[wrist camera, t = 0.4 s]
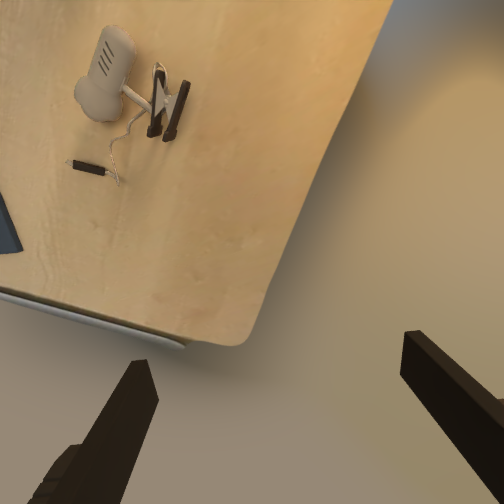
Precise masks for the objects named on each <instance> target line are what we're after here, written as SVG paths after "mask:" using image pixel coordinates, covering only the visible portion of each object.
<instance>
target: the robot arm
mask: <svg viewBox="0 0 504 504" xmlns="http://www.w3.org/2000/svg"><path fill="white" fill-rule="evenodd" d="M400 375H401V377H402V378H403V379H404V381H405V382H406V383H407V384H408V385H409V387H410V388H411V390H412V391H413V392H414V394H415V395H416V396H417V397H418V399H419V400H420V401H421V402H422V404H423V405H424V406H425V408H426V409H427V410H428V412H429V413H430V414H431V416H432V417H433V418H434V419H435V421H436V422H437V423H438V425H439V426H440V427H441V428H442V430H443V431H444V432H445V434H446V435H447V436H448V437H449V439H450V440H451V441H452V443H453V444H454V445H455V447H456V448H457V449H458V450H459V452H460V453H461V454H462V456H463V457H464V458H465V459H466V461H467V462H468V463H469V465H470V466H471V467H472V469H473V470H474V471H475V472H476V474H477V475H478V476H479V477H480V479H481V480H482V481H483V483H484V484H485V485H486V487H487V488H488V489H489V490H490V492H491V493H492V494H493V496H494V497H495V498H496V499H497V501H498V502H499V503H500V504H504V399H496V398H495V397H494V396H493V395H492V394H491V393H490V392H488V391H487V390H486V389H485V388H484V387H483V386H482V385H481V384H480V383H478V382H477V381H476V380H475V379H474V378H473V377H471V375H470V374H468V373H467V372H466V371H465V370H464V369H463V368H462V367H461V366H459V365H458V364H457V363H456V362H455V361H454V360H453V359H451V358H450V357H449V356H448V355H447V354H446V353H445V352H444V351H443V350H441V349H440V348H439V347H438V346H437V345H436V344H435V343H434V342H432V341H431V340H430V339H429V338H428V337H427V336H426V335H424V333H422V332H421V331H420V330H417V331H407V332H405V333H404V342H403V352H402V360H401V369H400ZM158 401H159V399H158V395H157V392H156V389H155V385H154V382H153V379H152V376H151V372H150V368H149V365H148V362H147V360H146V359H145V360H136V361H131V363H130V365H129V366H128V368H127V370H126V372H125V373H124V375H123V377H122V378H121V380H120V382H119V383H118V385H117V386H116V388H115V390H114V391H113V393H112V395H111V397H110V398H109V400H108V401H107V403H106V405H105V406H104V408H103V410H102V411H101V413H100V415H99V416H98V418H97V420H96V421H95V423H94V425H93V426H92V428H91V430H90V431H89V433H88V435H87V437H86V438H85V440H84V441H83V443H82V444H77V445H70V446H69V447H68V448H67V449H66V450H65V451H64V453H63V454H62V455H61V456H60V457H59V458H58V459H57V460H56V461H55V462H54V464H53V465H52V467H51V468H50V470H49V471H48V473H47V474H46V476H45V477H44V479H43V482H42V483H40V485H39V486H38V488H37V490H36V491H35V492H34V494H33V497H32V499H30V500H29V502H28V503H27V504H120V502H121V499H122V497H123V494H124V492H125V489H126V486H127V484H128V481H129V478H130V476H131V473H132V470H133V468H134V465H135V462H136V460H137V457H138V454H139V452H140V449H141V447H142V444H143V441H144V439H145V436H146V433H147V431H148V428H149V425H150V423H151V420H152V417H153V415H154V412H155V409H156V407H157V404H158Z"/></svg>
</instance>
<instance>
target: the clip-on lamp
mask: <svg viewBox="0 0 504 504" xmlns="http://www.w3.org/2000/svg"><path fill="white" fill-rule="evenodd" d="M136 55H137V54H136V47H135V44H134V41H133V39H132V38H131V36H130V35H129V34H128V33H127V32H126V31H125V30H124V29H122V28H121V27H119V26H116V25H108V26H106V27H104V28H103V29H102V32H101V35H100V38H99V41H98V44H97V47H96V50H95V53H94V56H93V59H92V62H91V65H90V68H89V71H88V74H87V75H86V76H83V77H81V78H80V79H79V80H78V81H77V83H76V85H75V89H74V96H75V99H76V101H77V102H78V103H79V104H80V105H81V107H82V109H83V111H84V113H85V114H86V115H87V116H88V117H89V118H90V119H92V120H94V121H97V122H105V121H107V120H109V121H116V120H117V119H118V118H119V117H120V116H121V114H122V110H123V102H122V98H121V95H122V92H125V93H126V95H127V96H128V97H129V98H131V99H132V100H133V101H135V102H136V103H137V104H138V105H140V106H141V107H142V108H144V109H143V110H142V111H141V112H140V113H139V114H137V115H136V116H135V117H134V118H132V119H131V120H130V121H129V122H128V125H127V133H126V135H124V136H121V137H117V138H115V139H113V140H112V141H111V142H110V145H109V150H110V155H111V160H112V163H113V167H114V170H115V174H116V176H115V175H114V174H113V173H111V172H109V171H106V170H105V168H103V167H99V166H96V165H92V164H88V163H84V162H80V161H76V160H73V163H72V162H71V161H69V160H66V163H67V164H69V165H70V166H72V167H73V169H76V170H80V171H85V172H89V173H93V174H97V175H101V176H104V175H105V174H107V175H110V176H112V177H113V178H114V179H115V180H116V182H117V186H118V187H119V178H118V174H117V171H116V167H115V164H114V160H113V157H112V152H111V146H112V143H113V142H114V141H115V140H118V139H121V138H125V137H127V136H129V134H130V126H131V124H132V123H133V122H134V121H135V120H136V119H138V118H139V117H140V116H142V115H143V114H144V113H145V112H146V111H148V112H149V113H150V114H151V126H148V129H147V137H149V138H152V137H156V136H159V135H161V133H162V127H163V126H162V125H161V118H162V115H163V114H164V113H165V112H167V117H168V122H169V125H168V128H167V131H165V132H164V135H163V139H162V141H163V142H165V143H166V142H168V141H171V140H173V139H175V137H176V133H177V130H176V128H177V125H178V122H179V119H180V116H181V113H182V110H183V107H184V104H185V101H186V98H187V95H188V92H189V89H190V85H191V83H190V82H188V81H186V80H183V82H182V84H181V87H180V91H179V92H177V93H176V94H174V95H173V96H171V94H170V91H169V89H168V74H167V71H166V69H165V68H164V66H163V65H162V64H160V63H158V62H156V63H155V64H154V67H153V72H152V76H153V93H152V96H151V99H150V101H149V102H147V101H146V100H144V99H143V98H142V97H141V96H139V95H138V94H137V93H135V92H134V91H133V90H132V89H131V88H129V87H128V86H127V83H128V80H129V78H128V77H129V74H130V71H131V69H132V66H133V63H134V61H135V58H136ZM158 67H162V68H163V69H164V72H163V71H160V70H157V68H158ZM151 104H152V105H151Z"/></svg>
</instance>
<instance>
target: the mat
mask: <svg viewBox="0 0 504 504" xmlns="http://www.w3.org/2000/svg"><path fill="white" fill-rule="evenodd" d="M21 251H23V249H22V246H21V244H20V241H19V239H18V236H17V234H16V231H15V229H14V226H13V224H12V221H11V219H10V216H9V214H8V211H7V209H6V206H5V204H4V201H3V199H2V196H1V194H0V254H8V253H18V252H21Z"/></svg>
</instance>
